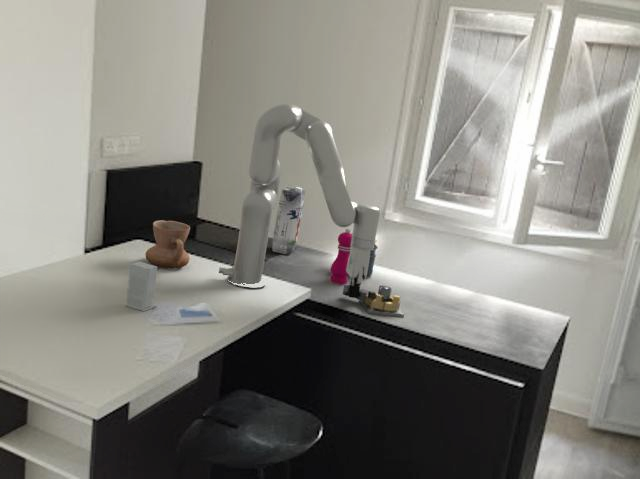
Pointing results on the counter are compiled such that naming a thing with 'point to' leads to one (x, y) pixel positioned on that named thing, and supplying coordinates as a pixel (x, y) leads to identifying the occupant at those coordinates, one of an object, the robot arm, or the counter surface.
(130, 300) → the skincare box
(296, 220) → the juice carton
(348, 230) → the pepper mill
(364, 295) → the yellow mechanical assembly
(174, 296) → the counter surface
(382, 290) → the grey mounting base
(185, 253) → the ceramic jug
